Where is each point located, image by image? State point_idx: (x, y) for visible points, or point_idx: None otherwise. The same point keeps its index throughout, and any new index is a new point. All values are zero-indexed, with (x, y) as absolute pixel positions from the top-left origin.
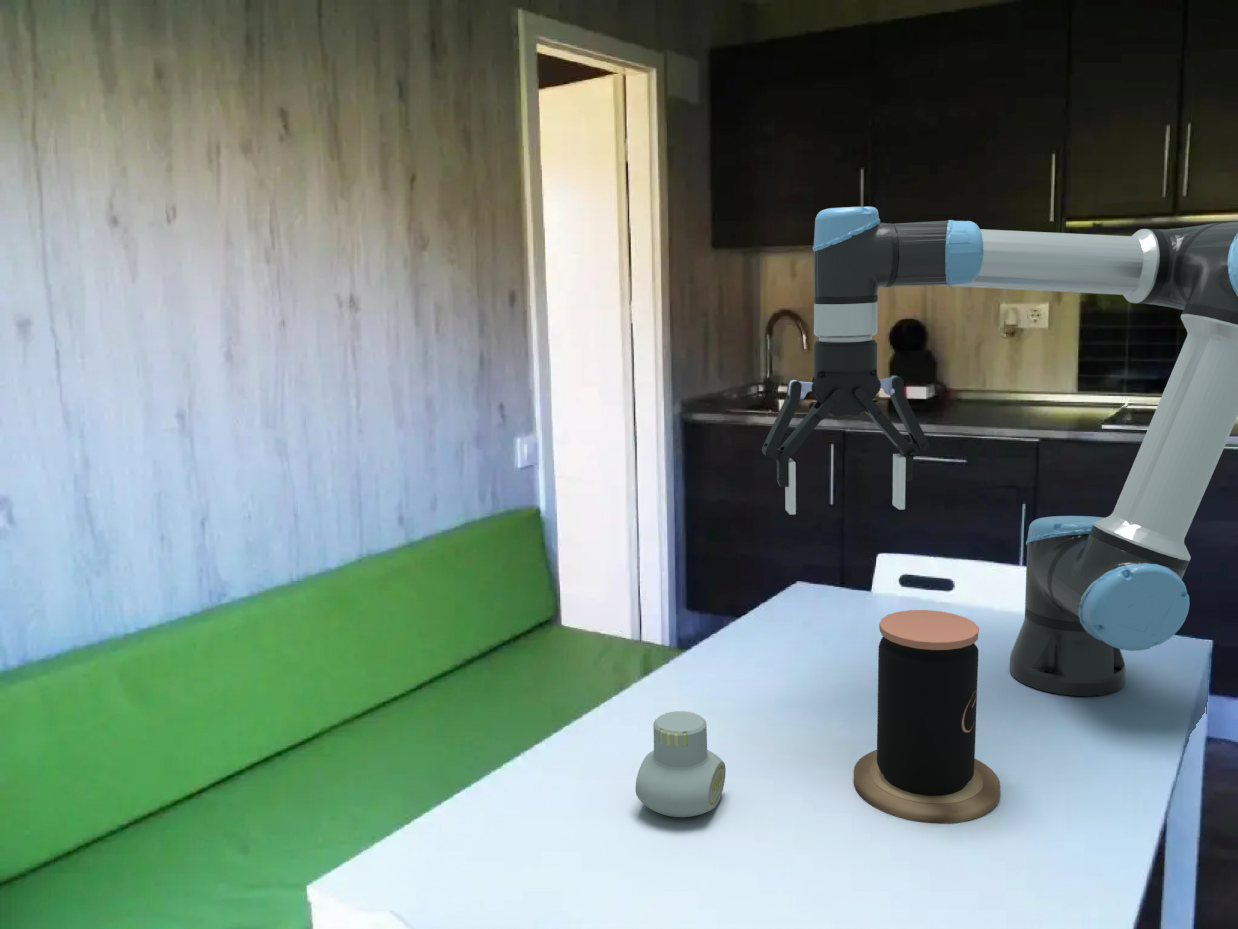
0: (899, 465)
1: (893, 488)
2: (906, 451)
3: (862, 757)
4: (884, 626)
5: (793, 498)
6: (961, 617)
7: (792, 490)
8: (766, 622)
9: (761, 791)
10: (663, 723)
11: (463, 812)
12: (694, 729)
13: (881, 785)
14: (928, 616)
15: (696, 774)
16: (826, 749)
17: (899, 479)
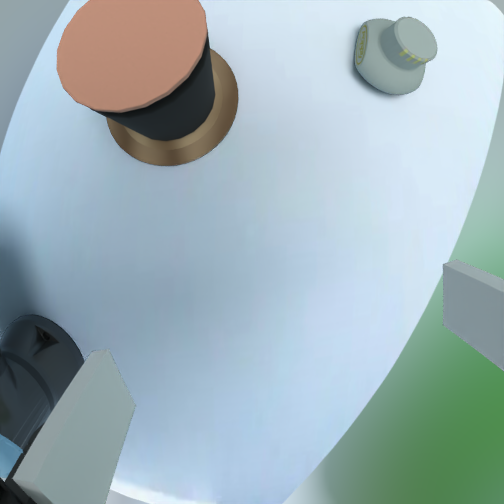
0: (48, 457)
1: (119, 435)
2: (1, 502)
3: (227, 128)
4: (199, 18)
5: (480, 275)
6: (68, 84)
7: (501, 285)
8: (313, 448)
9: (321, 79)
10: (429, 36)
11: (493, 73)
12: (402, 19)
13: (213, 74)
14: (117, 75)
15: (381, 24)
16: (263, 165)
17: (70, 414)
